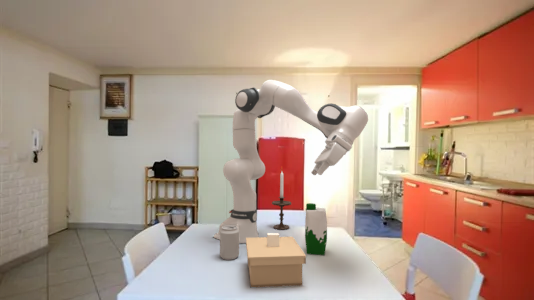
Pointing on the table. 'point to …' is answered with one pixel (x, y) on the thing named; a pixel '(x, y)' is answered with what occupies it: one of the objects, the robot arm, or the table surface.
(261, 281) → the carton
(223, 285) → the table surface
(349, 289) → the table surface
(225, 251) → the can
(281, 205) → the candlestick
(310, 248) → the milk carton
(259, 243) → the carton lid
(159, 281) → the table surface
